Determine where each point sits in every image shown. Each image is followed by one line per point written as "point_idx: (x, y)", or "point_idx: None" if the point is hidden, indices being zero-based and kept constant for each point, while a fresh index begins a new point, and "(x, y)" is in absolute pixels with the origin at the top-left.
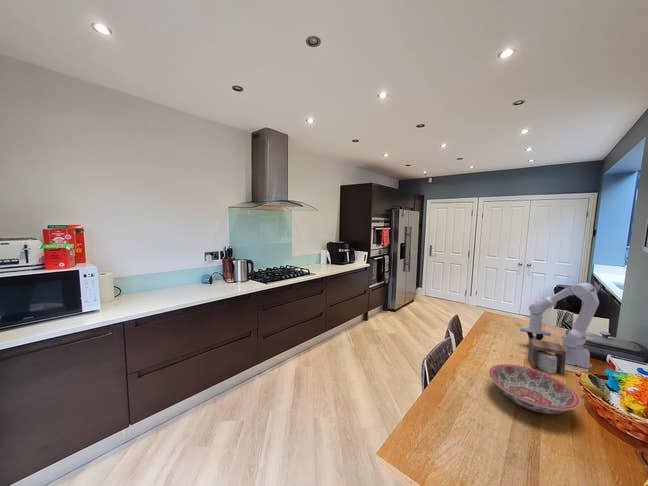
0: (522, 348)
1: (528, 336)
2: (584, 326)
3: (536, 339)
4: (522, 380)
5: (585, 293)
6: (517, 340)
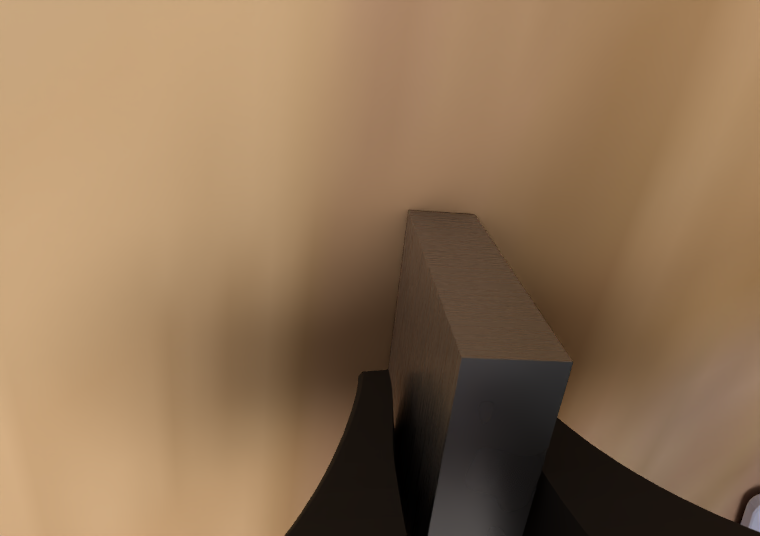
0: (216, 503)
1: (312, 496)
2: None
3: None
4: None
5: None
6: (89, 110)
